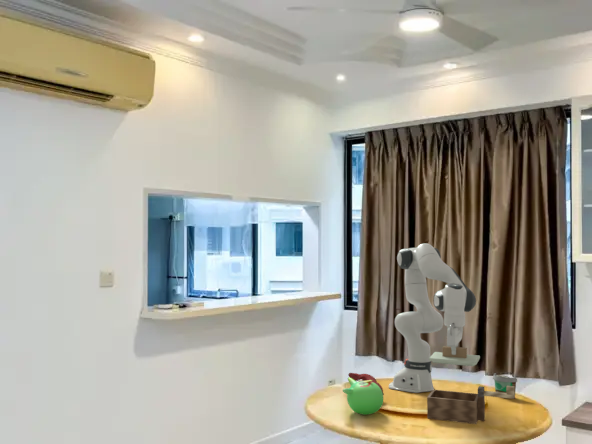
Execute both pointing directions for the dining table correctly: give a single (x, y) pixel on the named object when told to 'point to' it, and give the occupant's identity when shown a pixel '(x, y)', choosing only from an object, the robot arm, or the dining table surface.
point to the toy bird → (364, 396)
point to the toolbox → (456, 406)
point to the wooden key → (509, 393)
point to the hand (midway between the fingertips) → (454, 353)
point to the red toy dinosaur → (364, 378)
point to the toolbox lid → (454, 357)
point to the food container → (503, 382)
